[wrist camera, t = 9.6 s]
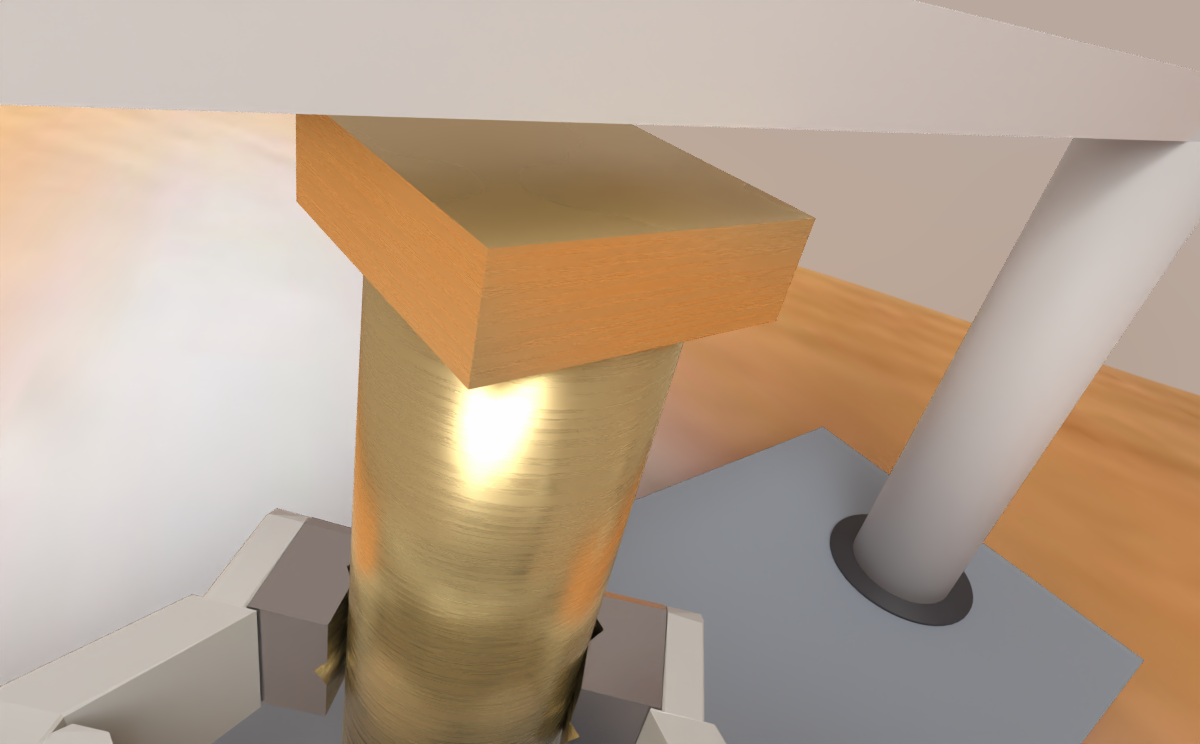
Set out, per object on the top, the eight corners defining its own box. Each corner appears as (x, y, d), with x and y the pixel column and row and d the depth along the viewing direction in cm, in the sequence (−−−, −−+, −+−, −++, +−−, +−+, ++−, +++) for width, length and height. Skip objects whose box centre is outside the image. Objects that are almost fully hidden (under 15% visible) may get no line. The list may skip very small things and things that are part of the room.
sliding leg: (464, 744, 15) (590, 103, 8) (554, 898, 13) (814, 218, 6) (300, 835, 13) (297, 89, 6) (377, 1034, 11) (487, 249, 4)
